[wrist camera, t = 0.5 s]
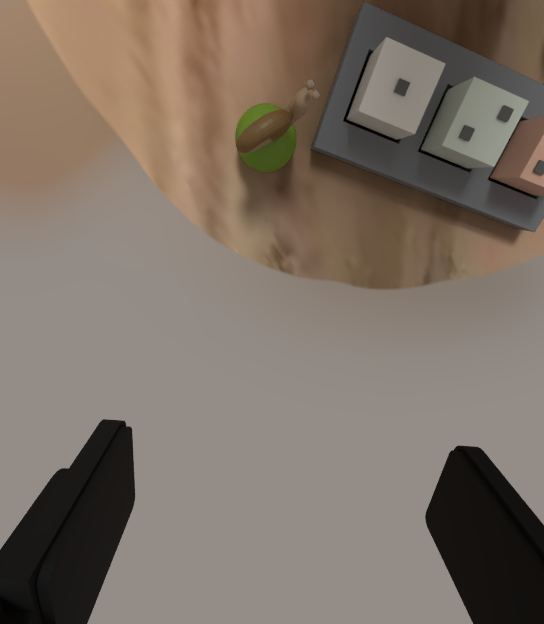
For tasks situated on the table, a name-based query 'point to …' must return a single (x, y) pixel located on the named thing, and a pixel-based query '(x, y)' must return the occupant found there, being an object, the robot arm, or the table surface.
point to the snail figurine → (272, 131)
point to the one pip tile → (395, 89)
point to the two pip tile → (474, 124)
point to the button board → (425, 122)
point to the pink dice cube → (524, 158)
